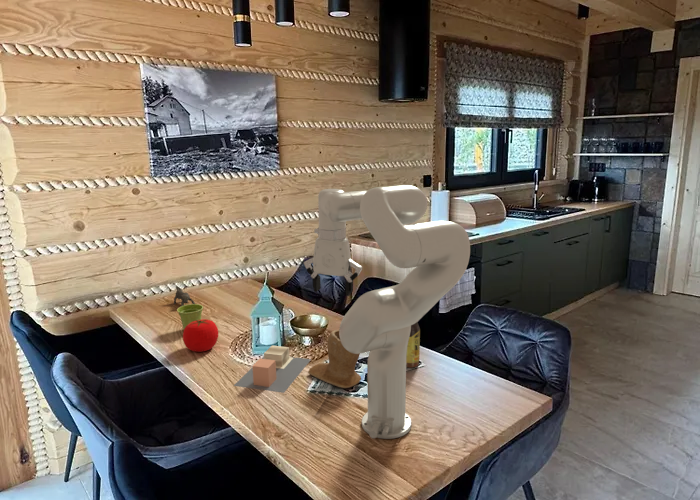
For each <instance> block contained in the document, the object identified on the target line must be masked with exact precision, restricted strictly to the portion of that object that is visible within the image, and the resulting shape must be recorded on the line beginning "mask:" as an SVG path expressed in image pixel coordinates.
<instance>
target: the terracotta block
mask: <svg viewBox="0 0 700 500" xmlns="http://www.w3.org/2000/svg"><path fill="white" fill-rule="evenodd" d="M252 367H253V382H254V385H259V386H266V387H270V386H271V384H272V383H273V382H274V381H275V380H276V360H268V359H262V358H259V359H258V360H257V361H256V362H255V363H253V365H252ZM252 367H251V368H252Z"/></svg>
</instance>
